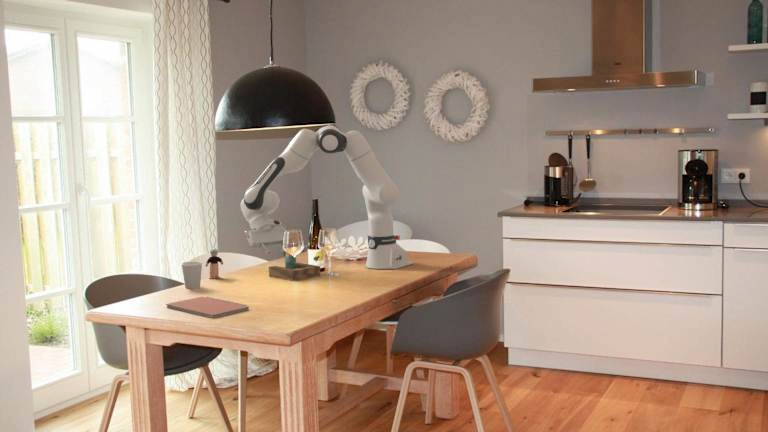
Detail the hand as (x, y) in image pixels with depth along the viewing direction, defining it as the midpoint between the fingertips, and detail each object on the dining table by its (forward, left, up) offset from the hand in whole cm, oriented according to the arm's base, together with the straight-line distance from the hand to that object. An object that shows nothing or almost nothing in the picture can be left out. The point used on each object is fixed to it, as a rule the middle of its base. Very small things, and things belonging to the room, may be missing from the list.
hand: (277, 251), depth 353 cm
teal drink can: (-1, +9, -9) cm, 13 cm away
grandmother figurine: (+24, -12, -9) cm, 28 cm away
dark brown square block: (-1, +11, -9) cm, 14 cm away
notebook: (+59, +35, -10) cm, 69 cm away
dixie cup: (+42, -1, -9) cm, 43 cm away
